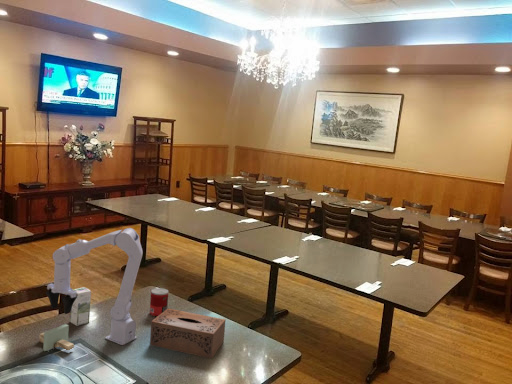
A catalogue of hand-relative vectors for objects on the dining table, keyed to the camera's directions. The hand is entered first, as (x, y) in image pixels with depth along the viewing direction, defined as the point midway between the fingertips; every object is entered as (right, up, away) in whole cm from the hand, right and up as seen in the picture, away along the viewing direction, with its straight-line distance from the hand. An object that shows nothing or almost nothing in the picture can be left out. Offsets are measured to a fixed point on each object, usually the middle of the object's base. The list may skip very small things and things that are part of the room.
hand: (60, 310), depth 166 cm
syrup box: (+2, -9, +13) cm, 16 cm away
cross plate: (+2, -11, -8) cm, 14 cm away
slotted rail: (+2, -11, -8) cm, 14 cm away
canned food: (+32, -10, +29) cm, 44 cm away
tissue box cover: (+49, -15, +4) cm, 52 cm away
